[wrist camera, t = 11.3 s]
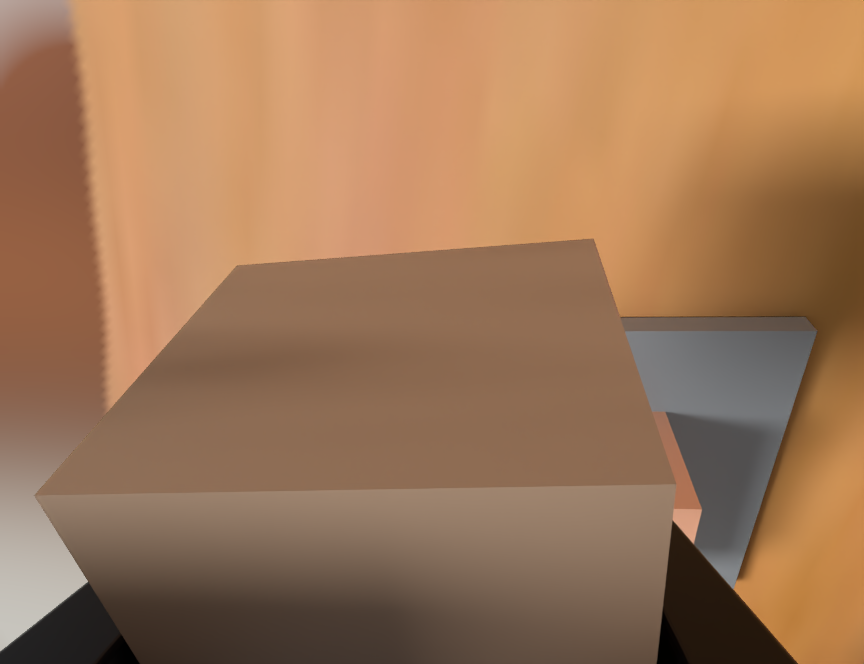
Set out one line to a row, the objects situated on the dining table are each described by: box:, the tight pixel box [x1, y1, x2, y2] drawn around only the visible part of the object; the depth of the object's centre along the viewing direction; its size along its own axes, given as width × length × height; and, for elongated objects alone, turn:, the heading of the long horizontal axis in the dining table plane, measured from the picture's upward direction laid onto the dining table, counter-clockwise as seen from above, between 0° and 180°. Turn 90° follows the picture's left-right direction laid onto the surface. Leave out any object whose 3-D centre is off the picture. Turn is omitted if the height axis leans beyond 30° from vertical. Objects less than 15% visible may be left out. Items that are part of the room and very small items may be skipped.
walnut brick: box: [35, 239, 676, 664], centre depth 7 cm, size 6×4×4 cm
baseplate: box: [620, 317, 817, 589], centre depth 21 cm, size 12×12×1 cm
